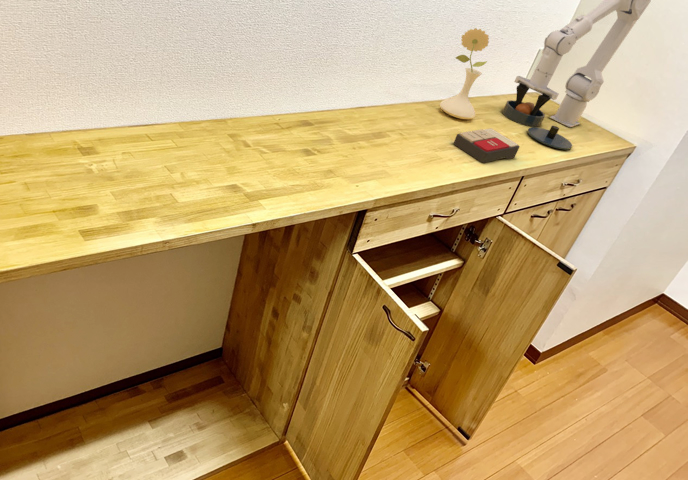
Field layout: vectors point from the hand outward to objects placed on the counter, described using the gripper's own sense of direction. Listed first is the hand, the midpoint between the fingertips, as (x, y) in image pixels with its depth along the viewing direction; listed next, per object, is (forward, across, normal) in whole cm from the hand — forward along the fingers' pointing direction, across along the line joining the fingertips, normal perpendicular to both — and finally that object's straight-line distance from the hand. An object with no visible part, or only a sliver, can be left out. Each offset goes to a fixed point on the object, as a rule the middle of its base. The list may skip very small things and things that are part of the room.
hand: (524, 111), depth 190 cm
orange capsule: (+2, 0, 0) cm, 2 cm away
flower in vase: (+2, -11, -28) cm, 30 cm away
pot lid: (+2, +14, -9) cm, 17 cm away
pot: (+2, 0, 0) cm, 2 cm away
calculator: (+2, +9, -43) cm, 44 cm away
